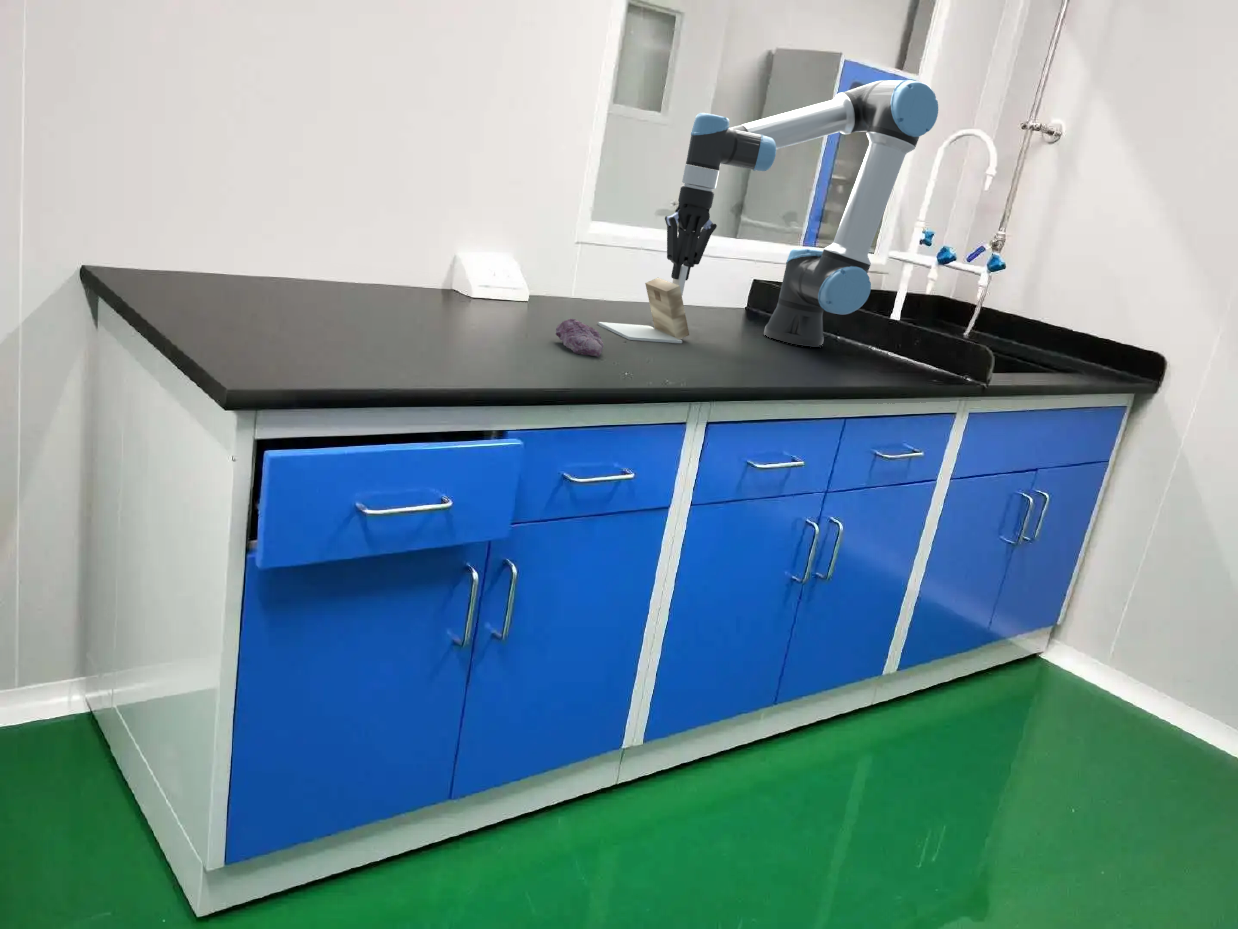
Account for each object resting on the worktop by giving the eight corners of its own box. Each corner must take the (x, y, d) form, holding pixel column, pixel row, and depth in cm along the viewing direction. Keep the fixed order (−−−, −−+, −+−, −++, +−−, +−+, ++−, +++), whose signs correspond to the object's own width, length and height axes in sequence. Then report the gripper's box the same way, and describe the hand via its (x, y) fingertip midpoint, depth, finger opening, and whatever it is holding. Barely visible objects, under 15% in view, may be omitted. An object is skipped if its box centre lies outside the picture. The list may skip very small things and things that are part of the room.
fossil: (580, 342, 207) (585, 317, 205) (612, 361, 195) (617, 334, 194) (544, 338, 202) (549, 313, 201) (574, 357, 191) (579, 331, 189)
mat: (648, 328, 236) (649, 325, 236) (681, 343, 225) (682, 340, 225) (597, 324, 229) (597, 321, 229) (629, 339, 218) (629, 337, 217)
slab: (667, 325, 236) (658, 277, 230) (689, 334, 229) (679, 285, 222) (655, 331, 234) (645, 282, 228) (676, 340, 227) (666, 291, 221)
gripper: (711, 189, 228) (690, 292, 235) (664, 181, 221) (643, 287, 228) (731, 194, 222) (708, 300, 229) (683, 185, 215) (661, 294, 222)
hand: (676, 293), depth 228 cm, fingers closed
